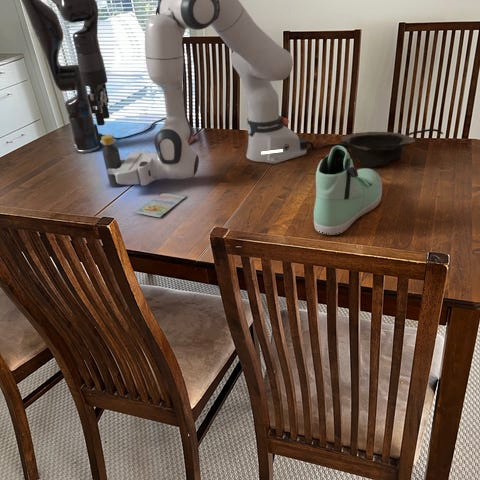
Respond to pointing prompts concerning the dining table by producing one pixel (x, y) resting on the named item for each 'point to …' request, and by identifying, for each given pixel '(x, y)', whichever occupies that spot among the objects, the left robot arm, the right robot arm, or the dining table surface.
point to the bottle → (112, 162)
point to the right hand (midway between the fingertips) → (111, 167)
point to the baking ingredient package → (160, 205)
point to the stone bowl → (376, 147)
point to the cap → (107, 139)
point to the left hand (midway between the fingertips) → (103, 121)
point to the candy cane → (191, 139)
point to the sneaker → (343, 192)
